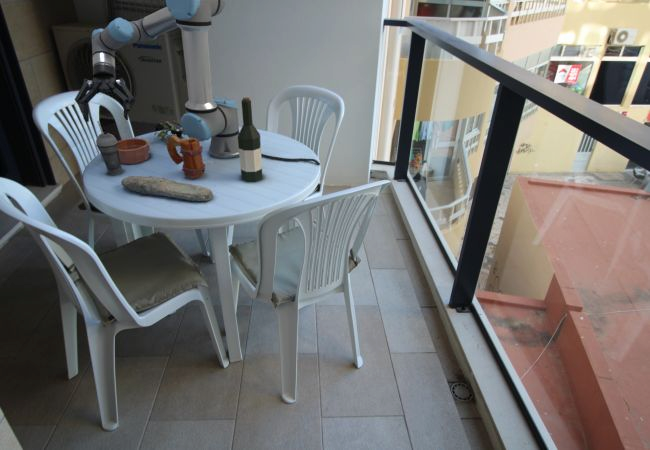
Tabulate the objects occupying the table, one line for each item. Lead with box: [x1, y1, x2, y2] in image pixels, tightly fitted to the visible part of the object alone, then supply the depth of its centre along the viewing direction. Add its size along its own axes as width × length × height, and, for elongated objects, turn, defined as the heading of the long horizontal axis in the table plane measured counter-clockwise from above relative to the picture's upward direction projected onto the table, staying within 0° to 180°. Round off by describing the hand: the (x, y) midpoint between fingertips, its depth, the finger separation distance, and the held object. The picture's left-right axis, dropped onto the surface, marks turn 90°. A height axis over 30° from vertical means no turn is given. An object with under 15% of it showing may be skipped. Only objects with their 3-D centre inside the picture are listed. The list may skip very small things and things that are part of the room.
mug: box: [166, 134, 206, 180], centre depth 147 cm, size 15×8×15 cm, turn 71°
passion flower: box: [153, 120, 187, 142], centre depth 179 cm, size 11×11×12 cm
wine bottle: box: [238, 97, 263, 183], centre depth 143 cm, size 8×8×30 cm
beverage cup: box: [95, 120, 123, 176], centre depth 146 cm, size 7×7×20 cm
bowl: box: [117, 137, 151, 165], centre depth 162 cm, size 14×14×6 cm
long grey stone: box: [120, 175, 214, 202], centre depth 137 cm, size 35×5×10 cm
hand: (106, 119), depth 146 cm, fingers open, 13 cm apart
